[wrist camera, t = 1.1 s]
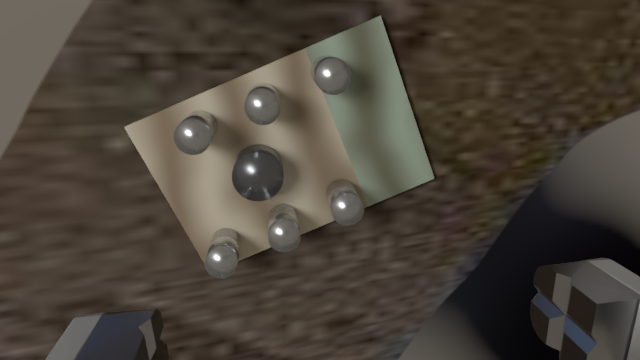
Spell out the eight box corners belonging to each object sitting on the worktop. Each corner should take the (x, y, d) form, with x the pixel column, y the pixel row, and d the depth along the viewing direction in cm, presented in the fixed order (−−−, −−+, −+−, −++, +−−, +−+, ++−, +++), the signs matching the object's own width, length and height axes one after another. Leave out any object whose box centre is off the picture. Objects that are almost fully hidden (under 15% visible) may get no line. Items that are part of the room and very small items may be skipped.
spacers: (335, 49, 37) (344, 52, 32) (387, 187, 41) (400, 204, 37) (147, 131, 37) (131, 143, 33) (219, 258, 42) (213, 283, 38)
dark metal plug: (270, 136, 39) (270, 144, 36) (290, 178, 40) (291, 189, 37) (226, 155, 39) (222, 165, 36) (247, 196, 40) (245, 209, 37)
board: (378, 16, 37) (380, 15, 36) (431, 175, 42) (434, 178, 42) (127, 125, 38) (124, 127, 37) (211, 268, 43) (210, 273, 42)
